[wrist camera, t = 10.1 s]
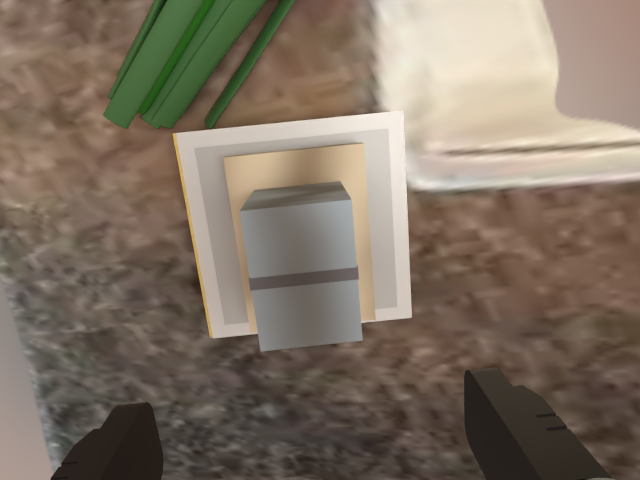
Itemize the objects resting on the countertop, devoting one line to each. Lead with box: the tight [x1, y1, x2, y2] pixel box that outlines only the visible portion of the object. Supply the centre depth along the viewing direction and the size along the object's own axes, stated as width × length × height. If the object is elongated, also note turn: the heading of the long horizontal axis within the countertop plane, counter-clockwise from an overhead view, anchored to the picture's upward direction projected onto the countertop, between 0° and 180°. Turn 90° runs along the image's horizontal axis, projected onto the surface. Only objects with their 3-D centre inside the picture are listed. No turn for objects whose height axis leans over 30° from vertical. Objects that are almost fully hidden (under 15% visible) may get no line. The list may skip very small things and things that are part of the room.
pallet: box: [223, 142, 376, 351], centre depth 24 cm, size 8×11×8 cm
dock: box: [173, 110, 412, 338], centre depth 30 cm, size 14×14×4 cm
